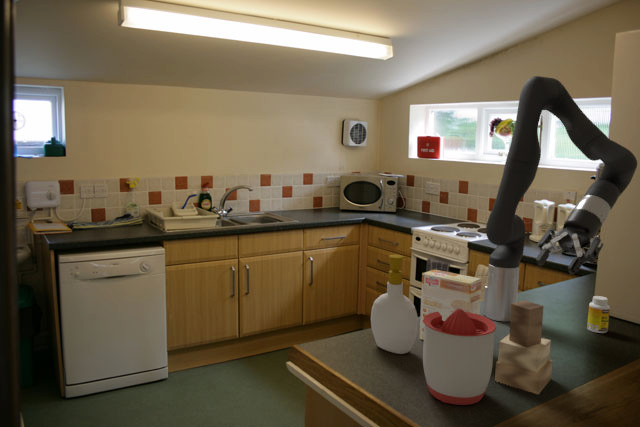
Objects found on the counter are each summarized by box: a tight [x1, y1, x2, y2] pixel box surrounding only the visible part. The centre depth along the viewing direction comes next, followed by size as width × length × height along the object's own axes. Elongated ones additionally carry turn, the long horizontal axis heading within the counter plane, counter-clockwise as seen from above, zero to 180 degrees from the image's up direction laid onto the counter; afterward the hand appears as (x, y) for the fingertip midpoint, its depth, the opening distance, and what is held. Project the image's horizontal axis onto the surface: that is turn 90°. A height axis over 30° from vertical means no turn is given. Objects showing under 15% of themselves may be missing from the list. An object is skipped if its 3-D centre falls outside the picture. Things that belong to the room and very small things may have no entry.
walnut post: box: [508, 299, 544, 347], centre depth 125 cm, size 5×5×9 cm
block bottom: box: [494, 359, 553, 395], centre depth 127 cm, size 10×10×5 cm
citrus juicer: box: [422, 309, 497, 406], centre depth 120 cm, size 16×17×20 cm
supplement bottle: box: [586, 295, 611, 334], centre depth 160 cm, size 6×6×10 cm
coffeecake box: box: [419, 269, 483, 341], centre depth 148 cm, size 15×7×20 cm, turn 47°
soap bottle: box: [370, 254, 419, 355], centre depth 143 cm, size 14×9×26 cm, turn 46°
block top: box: [497, 333, 552, 373], centre depth 127 cm, size 9×9×5 cm
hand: (554, 268), depth 128 cm, fingers open, 8 cm apart
